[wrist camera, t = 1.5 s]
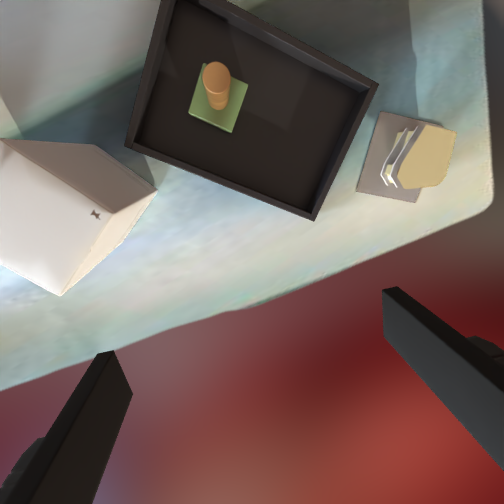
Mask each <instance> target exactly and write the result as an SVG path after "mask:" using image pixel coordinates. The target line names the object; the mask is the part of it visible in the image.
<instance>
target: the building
mask: <svg viewBox="0 0 504 504" xmlns="http://www.w3.org/2000/svg"><path fill="white" fill-rule="evenodd" d="M456 135H457V132H455V131H451V130H446V129H443V126H440V125H436V124H432V123H428V122H424V121H420V120H416V119H412V118H408V117H403V116H399V115H395V114H391V113H387V112H383V111H380V114H379V117H378V120H377V124H376V127H375V130H374V134H373V137H372V140H371V144H370V147H369V151H368V154H367V157H366V161H365V164H364V167H363V171H362V174H361V177H360V181H359V184H358V187H357V191H356V192H361V193H366V194H371V195H376V196H382V197H387V198H392V199H397V200H402V201H407V202H413V203H415V202H416V199H417V197H418V194H419V191H420V189H421V188H424V187H434V186H436V185H438V184H440V183H441V182H442V181H443V180H444V178H445V177H446V174H447V171H448V167H449V163H450V159H451V155H452V151H453V147H454V143H455V139H456Z"/></svg>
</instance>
